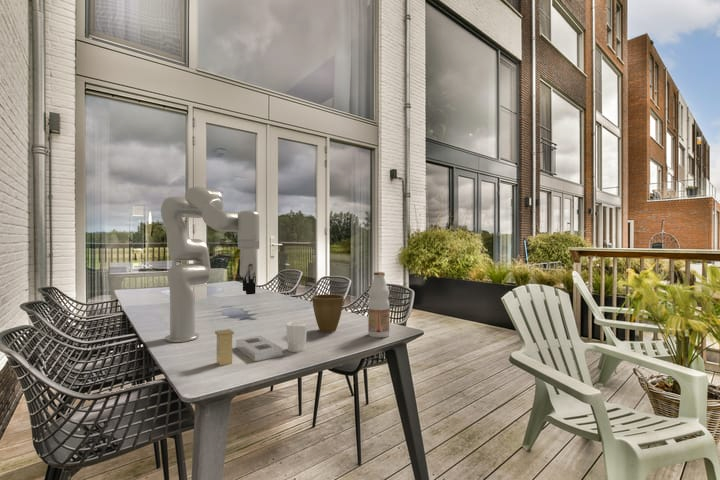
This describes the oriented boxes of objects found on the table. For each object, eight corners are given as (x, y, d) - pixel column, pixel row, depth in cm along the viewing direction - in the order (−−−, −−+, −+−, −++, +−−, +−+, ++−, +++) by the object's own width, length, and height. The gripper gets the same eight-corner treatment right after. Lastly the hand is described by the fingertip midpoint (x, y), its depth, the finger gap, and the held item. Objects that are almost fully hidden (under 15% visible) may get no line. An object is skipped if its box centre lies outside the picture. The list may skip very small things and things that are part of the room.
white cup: (289, 353, 134) (289, 326, 134) (283, 348, 141) (283, 322, 141) (309, 350, 137) (309, 324, 137) (303, 345, 144) (303, 320, 144)
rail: (236, 347, 141) (236, 339, 141) (260, 343, 147) (260, 335, 147) (255, 361, 125) (255, 352, 125) (281, 356, 131) (282, 347, 131)
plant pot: (343, 335, 160) (343, 299, 160) (309, 334, 160) (309, 298, 160) (344, 326, 175) (345, 293, 175) (314, 326, 175) (314, 293, 175)
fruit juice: (366, 337, 157) (367, 272, 157) (370, 331, 166) (370, 271, 166) (388, 338, 155) (388, 273, 155) (390, 333, 164) (390, 271, 164)
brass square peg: (214, 362, 124) (215, 331, 124) (229, 359, 127) (229, 329, 127) (219, 366, 120) (219, 334, 120) (233, 363, 123) (233, 331, 123)
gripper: (235, 245, 137) (235, 290, 137) (240, 245, 121) (240, 296, 121) (255, 245, 140) (256, 289, 140) (263, 245, 124) (263, 294, 124)
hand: (248, 292), depth 131 cm, fingers open, 9 cm apart
